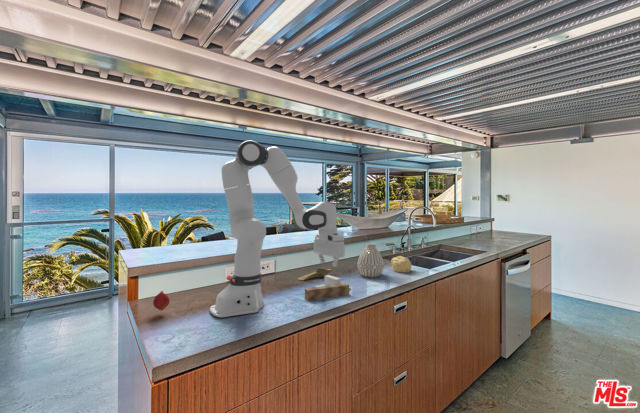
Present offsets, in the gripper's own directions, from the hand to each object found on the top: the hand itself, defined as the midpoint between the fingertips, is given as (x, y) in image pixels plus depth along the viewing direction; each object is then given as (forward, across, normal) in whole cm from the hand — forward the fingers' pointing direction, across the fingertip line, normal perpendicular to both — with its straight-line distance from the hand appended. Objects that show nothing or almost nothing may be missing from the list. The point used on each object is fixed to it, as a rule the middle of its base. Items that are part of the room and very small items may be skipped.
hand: (328, 264), depth 139 cm
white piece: (+15, -9, +9) cm, 20 cm away
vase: (+16, -16, +44) cm, 50 cm away
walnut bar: (+15, 0, -1) cm, 16 cm away
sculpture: (+17, -12, +68) cm, 71 cm away
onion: (+14, -25, -68) cm, 73 cm away
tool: (+17, -29, +16) cm, 37 cm away
